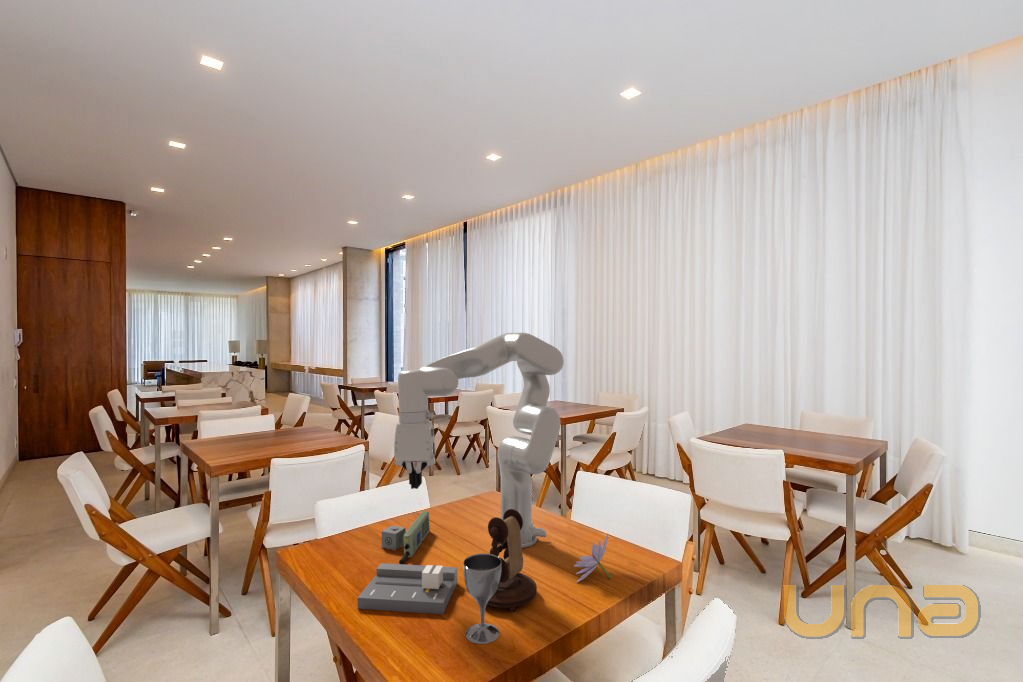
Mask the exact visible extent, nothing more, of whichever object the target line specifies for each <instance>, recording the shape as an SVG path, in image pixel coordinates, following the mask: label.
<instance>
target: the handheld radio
mask: <svg viewBox="0 0 1023 682" xmlns="http://www.w3.org/2000/svg"><path fill="white" fill-rule="evenodd" d="M429 533H430V512H429V510H425V511H424V510H423V511H421V513H420V514H419V515H418V517H417V518H416V519H415V520H414V521H413V523H412V524H411V525H410V526H409V528H408V529H406V533H405V534H404V536H403V538H404V546H403V556H402V557H401V558H400V559H399V561H398V564H404V563H405V562H406V561H407V560H408V558H412V557H414V555H415V553H416V552H417V550H418V549H419V547H420V546H421V544H422V543H423V542H424V540H425V538H427V535H429ZM422 541H423V542H422ZM408 556H409V557H408Z"/></svg>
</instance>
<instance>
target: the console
mask: <svg viewBox="0 0 1023 682" xmlns="http://www.w3.org/2000/svg"><path fill="white" fill-rule="evenodd" d="M426 566H427V565H420V564H404V563H403V564H399V563H384V562H383V563H382V562H381V563H380V564H379V565H378V566H377V567H376V571H375V572H376V573H375V574H376V575H375V576H374V577H373V578H372V579H371V580H370V582H369V583H368V584H367V585H366V587H365V588H364V589H363V590H362V592H361V593H360V594H359V595H358V597H357V609H359V610H371V611H372V610H373V611H374V610H375V611H376V610H377V611H391V612H402V613H404V612H405V613H417V614H419V613H420V614H432V615H433V614H435V615H444V613H445V611H446V609H447V607H448V606H449V605H448V604H449V602H450V600H451V597H452V596H453V593H454V591H455V589H456V587H457V585H458V567H455V566H443V581H442V583H441V585H440V587H439V589H429V588H422V572H423V570H424V569H425V567H426Z"/></svg>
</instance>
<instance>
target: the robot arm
mask: <svg viewBox="0 0 1023 682" xmlns="http://www.w3.org/2000/svg"><path fill="white" fill-rule="evenodd" d="M563 356H564V355H563V354H562V352H561V351H560V350H559V349H558V348H556V346H553V345H552V344H550V343H548V342H547V341H544V340H542V339H540V338H539V337H536V336H535V335H533V334H530V333H527V332H505V333H502V334H499V335H498V336H495V337H493V338H491V339H489V340H487V341H485V342H483V343H479V345H477V346H473V347H471V348H468V349H465V350H462V351H459V352H456V353H454V354H450V355H447V356H444V357H441V358H439V359H437V360H435V361H432V362H430V363H429V364H426V365H423V366H422V367H420V369H408V370H407V369H406V370H402V371H400V372H399V373H398V375H397V376H398V377H397V387H398V388H397V390H398V395H397V396H398V419H399V420H398V422H397V423H396V426H395V433H394V441H393V442H394V445H393V455H394V463H393V464H394V465H395V466H399V467H402V468H404V470H405V471H406V472H407V474H408V484H409V485H410V489H411V490H415V489H416V490H418V489H419V487H421V485H422V483H423V474H422V473H423V472H422V471H423V470H425V468H426V467H430V466H434V465H435V464H436V457H435V456H436V453H437V451H436V448H437V447H436V439H435V431H434V426H433V421H431V420H430V419H434V416H435V415H434V414H435V413H434V412H432V411H431V412H430V409H429V397H431V396H432V397H433V396H434V397H445V396H446V397H447V396H449V395H451V394H453V393H454V392H455V391H456V390H457V388H458V386H459V380H461V379H467V378H468V379H469V378H476V377H481V376H486V375H487V374H489V373H491V372H493V371H496V369H499V368H500V367H502V366H504V365H506V364H509V363H510V362H516V364H517V367H518V369H519V371H520V374H521V376H522V379H523V388H522V392H521V396H520V398H519V401H518V404H517V407H516V410H515V413H514V415H513V419H512V426H513V427H514V429H515V431H517V432H519V433H521V434H524V435H528V436H530V439H529V438H525V437H522V436H521V437H520V436H515V435H511V436H507V437H504V439H502V440H501V441H500V443H499V445H498V446H497V461H498V466H499V474H500V475H499V476H500V518H501V519H502V520H503V516H504V513H505V512H506V511H507V510H509V509H514V510H516V511H518V512H519V513H520V515H521V517H522V519H523V526H522V529H521V530H520V534H521V547H522V549H524V548H528V547H531V546H533V545H535V544H536V542H537V540H538V537H540V538H547V530H546V529H545V530H544V529H543V527H536V526H534V522H533V519H532V518H533V515H532V513H533V510H532V503H533V502H532V501H533V496H532V495H533V493H532V492H533V487H532V486H533V483H532V477H531V475H540V474H542V473H544V472H545V471H546V469H547V468H548V466H549V464H550V461H551V459H552V456H553V453H554V449H555V447H556V444H557V440H558V439H559V438H558V437H559V435H560V430H561V417H560V414H559V412H558V411H557V410H556V409H555V408H553V407H551V406H548V400H549V397H550V392H551V390H550V383H549V381H548V377H547V376H553V375H556V374H558V373H560V371H561V370H562V369H563V367H564V364H565V363H564V357H563ZM414 463H416V466H415V464H414ZM415 467H416V468H415ZM499 546H501V544H499Z"/></svg>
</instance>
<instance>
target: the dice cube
mask: <svg viewBox="0 0 1023 682" xmlns="http://www.w3.org/2000/svg"><path fill="white" fill-rule="evenodd" d="M406 531H407V528H406V527H404V526H398V525H390V526H388V527H387V528H385V529H383V530H382V531H381V549H384V548H387V549H386V550H389V549H393V550H392V551H395V550H396V551H398V550H399V549H401V548H402V547H404V546H403V545H404V538H403V536H404V534H405V533H406ZM401 546H402V547H401ZM400 547H401V548H400ZM398 548H399V549H398ZM397 549H398V550H397Z"/></svg>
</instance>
